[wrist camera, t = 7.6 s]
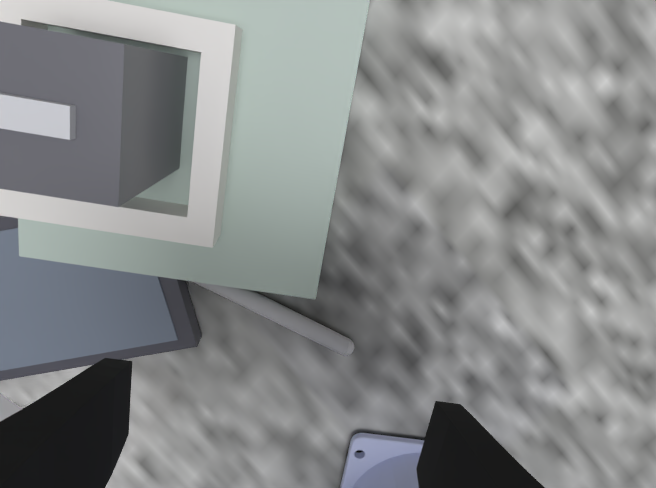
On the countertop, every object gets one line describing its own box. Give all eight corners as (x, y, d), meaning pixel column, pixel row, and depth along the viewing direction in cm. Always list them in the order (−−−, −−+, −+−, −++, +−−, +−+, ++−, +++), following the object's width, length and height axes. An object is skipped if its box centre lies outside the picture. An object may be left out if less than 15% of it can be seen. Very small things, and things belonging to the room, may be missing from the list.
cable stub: (356, 339, 22) (358, 348, 21) (347, 352, 22) (349, 362, 21) (179, 250, 20) (173, 256, 20) (171, 265, 20) (166, 272, 20)
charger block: (179, 168, 18) (114, 209, 12) (71, 150, 18) (-51, 184, 12) (187, 57, 17) (119, 43, 11) (71, 35, 17) (-64, 9, 11)
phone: (201, 336, 22) (196, 347, 21) (-75, 384, 22) (-92, 397, 21) (156, 185, 19) (149, 190, 18) (-150, 242, 20) (-173, 249, 19)
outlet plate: (315, 289, 21) (315, 317, 19) (33, 248, 20) (-7, 271, 18) (393, -142, 16) (407, -182, 14) (23, -225, 15) (-34, -285, 13)
